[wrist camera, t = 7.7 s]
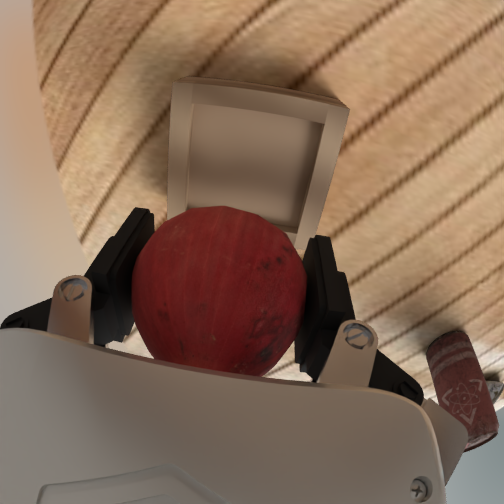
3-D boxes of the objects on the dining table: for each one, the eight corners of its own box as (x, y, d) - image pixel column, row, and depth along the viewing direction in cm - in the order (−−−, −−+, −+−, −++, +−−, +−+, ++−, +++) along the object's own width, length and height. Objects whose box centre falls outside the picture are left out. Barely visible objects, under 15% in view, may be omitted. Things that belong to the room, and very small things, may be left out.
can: (415, 359, 35) (437, 460, 23) (443, 327, 31) (477, 435, 20) (448, 361, 35) (472, 452, 24) (476, 331, 31) (510, 428, 20)
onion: (300, 166, 12) (326, 342, 5) (300, 282, 15) (307, 447, 9) (152, 176, 12) (47, 329, 6) (181, 283, 16) (135, 434, 9)
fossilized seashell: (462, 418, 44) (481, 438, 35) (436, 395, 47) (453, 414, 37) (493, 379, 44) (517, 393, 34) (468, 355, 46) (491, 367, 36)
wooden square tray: (187, 76, 18) (172, 82, 16) (339, 99, 19) (349, 109, 16) (179, 205, 24) (167, 228, 22) (307, 225, 25) (310, 251, 22)
